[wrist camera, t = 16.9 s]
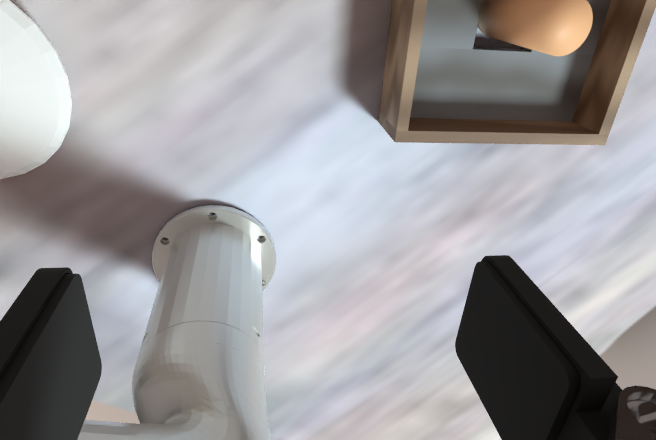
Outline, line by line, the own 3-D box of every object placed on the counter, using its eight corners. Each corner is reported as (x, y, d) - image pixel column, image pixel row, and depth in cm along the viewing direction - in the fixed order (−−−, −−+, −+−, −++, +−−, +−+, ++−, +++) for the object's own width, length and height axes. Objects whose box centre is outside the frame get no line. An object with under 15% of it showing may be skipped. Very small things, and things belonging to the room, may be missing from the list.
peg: (513, 39, 42) (581, 57, 33) (473, 37, 41) (531, 55, 33) (525, -10, 40) (600, -4, 32) (483, -13, 40) (548, -7, 31)
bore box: (566, 125, 47) (604, 145, 42) (378, 121, 44) (395, 142, 39) (641, -112, 38) (703, -124, 32) (408, -138, 34) (436, -157, 29)
